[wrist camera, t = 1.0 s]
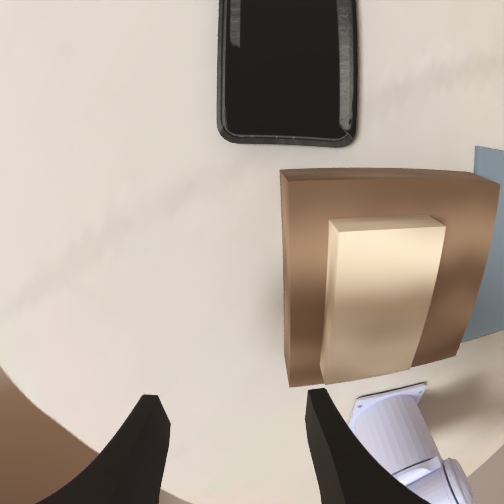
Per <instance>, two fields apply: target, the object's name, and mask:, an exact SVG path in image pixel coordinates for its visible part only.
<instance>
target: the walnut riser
mask: <svg viewBox="0 0 504 504" xmlns="http://www.w3.org/2000/svg"><path fill="white" fill-rule="evenodd" d="M280 186H281V211H282V240H283V279H284V355H285V362H286V368H287V375H288V381H289V387H299V386H308V385H316V384H324V380H323V376H322V372H321V368H320V357H321V347H322V336H323V325H324V312H325V298H326V281H327V261H328V234H329V219H346V218H368V217H392V216H421V215H429V216H431V217H432V218H434V219H435V220H437V221H438V222H440V223H442V224H443V225H445V226H446V230H445V236H444V242H443V248H442V253H441V259H440V264H439V268H438V273H437V278H436V282H435V286H434V291H433V295H432V299H431V303H430V306H429V310H428V314H427V317H426V321H425V324H424V328H423V331H422V334H421V337H420V341H419V344H418V347H417V350H416V353H415V356H414V359H413V361H412V364H411V367H415V366H419V365H423V364H427V363H431V362H435V361H439V360H442V359H446V358H449V357H453V356H455V355H456V353H457V350H458V348H459V345H460V343H461V340H462V338H463V335H464V333H465V330H466V327H467V325H468V322H469V319H470V316H471V313H472V310H473V307H474V304H475V301H476V298H477V295H478V292H479V288H480V285H481V281H482V278H483V274H484V270H485V266H486V262H487V258H488V254H489V250H490V245H491V240H492V236H493V230H494V225H495V219H496V213H497V207H498V200H499V192H500V184H499V183H496V182H494V181H491V180H489V179H486V178H483V177H481V176H478V175H475V174H473V173H470V172H459V171H445V170H427V169H402V168H313V169H287V170H280ZM411 367H410V368H411Z"/></svg>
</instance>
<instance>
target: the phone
mask: <svg viewBox="0 0 504 504" xmlns="http://www.w3.org/2000/svg"><path fill="white" fill-rule="evenodd" d="M357 75H358V59H357V20H356V2H355V0H219V21H218V56H217V128H218V131H219V133H220V135H221V136H222V137H223V138H224V139H225V140H227V141H229V142H231V143H238V144H285V145H306V146H322V147H335V148H336V147H343V146H345V145H347V144H349V143H350V142H351V141H352V139H353V137H354V136H355V131H356V116H357Z"/></svg>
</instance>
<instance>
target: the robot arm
mask: <svg viewBox="0 0 504 504" xmlns="http://www.w3.org/2000/svg"><path fill="white" fill-rule="evenodd" d="M425 389H426V385H425V383H422V384H418V385H415V386H411V387H407V388H403V389H399V390H394V391H390V392H386V393H381V394H376V395H371V396H366V397H361V398H359V399H357V400H356V402H355V406H354V409H353V413H352V416H351V419H350V422H349V426H348V425H347V424H346V422H345V421H344V419H343V418H342V416H341V415H340V413H339V411H338V410H337V408H336V406H335V405H334V403H333V401H332V400H331V398H330V396H329V394H328V392H327V390H326V389H325V388H320V389H312V390H308V396H307V406H306V415H305V422H306V430H307V438H308V444H309V448H310V452H311V456H312V460H313V464H314V468H315V472H316V476H317V480H318V484H319V489H320V494H321V502H322V504H475V500H474V496H473V493H472V490H471V487H470V485H469V482H468V480H467V478H466V475H465V473H464V471H463V469H462V467H461V466H460V464H459V462H458V461H457V460H456V459H451V458H448V459H446V460H445V461H444V460H443V459H442V458H441V456H440V454H439V451H438V449H437V447H436V444H435V442H434V440H433V438H432V435H431V433H430V431H429V429H428V427H427V424H426V422H425V420H424V418H423V416H422V414H421V412H420V409H419V407H418V403H419V401H420V399H421V397H422V395H423V393H424V391H425ZM170 426H171V423H170V421H169V419H168V417H167V415H166V413H165V410H164V408H163V406H162V404H161V402H160V399H159V397H158V395H142V397H141V398H140V400H139V401H138V403H137V404H136V406H135V407H134V409H133V410H132V412H131V413H130V415H129V416H128V417H127V419H126V420H125V422H124V423H123V425H122V426H121V427H120V429H119V430H118V431H117V433H116V434H115V436H114V437H113V438H112V439H111V441H110V442H109V443H108V444H107V445H106V447H105V448H104V449H103V450H102V452H101V453H100V454H99V455H98V456H97V457H96V458H95V459H94V460H93V461H92V462H91V464H89V465H88V467H86V468H85V469H84V470H83V471H82V472H81V473H80V474H79V475H78V476H76V477H75V478H74V479H73V480H72V481H70V482H69V483H68V484H67V485H65V486H64V487H62V488H61V489H59V490H58V491H56V492H55V493H53V494H52V495H50V496H49V497H47V498H45V499H43V500H42V501H40V502H38V503H36V504H159V493H160V487H161V482H162V477H163V472H164V467H165V463H166V458H167V453H168V448H169V439H170Z"/></svg>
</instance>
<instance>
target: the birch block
mask: <svg viewBox="0 0 504 504" xmlns="http://www.w3.org/2000/svg"><path fill="white" fill-rule="evenodd" d="M445 230H446V226H445V225H443V224H442V223H440V222H438V221H437V220H435V219H434V218H432V217H431V216H429V215H421V216H392V217H368V218H346V219H329V234H328V261H327V281H326V298H325V312H324V325H323V336H322V347H321V357H320V368H321V372H322V376H323V380H324V383H325V385H327V384H334V383H341V382H347V381H354V380H359V379H365V378H370V377H376V376H381V375H386V374H390V373H395V372H400V371H404V370H408V369H410V367H411V364H412V361H413V359H414V356H415V353H416V350H417V347H418V344H419V341H420V337H421V334H422V331H423V328H424V324H425V321H426V317H427V314H428V310H429V306H430V303H431V299H432V295H433V291H434V286H435V282H436V278H437V273H438V268H439V264H440V259H441V253H442V248H443V242H444V236H445Z"/></svg>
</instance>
